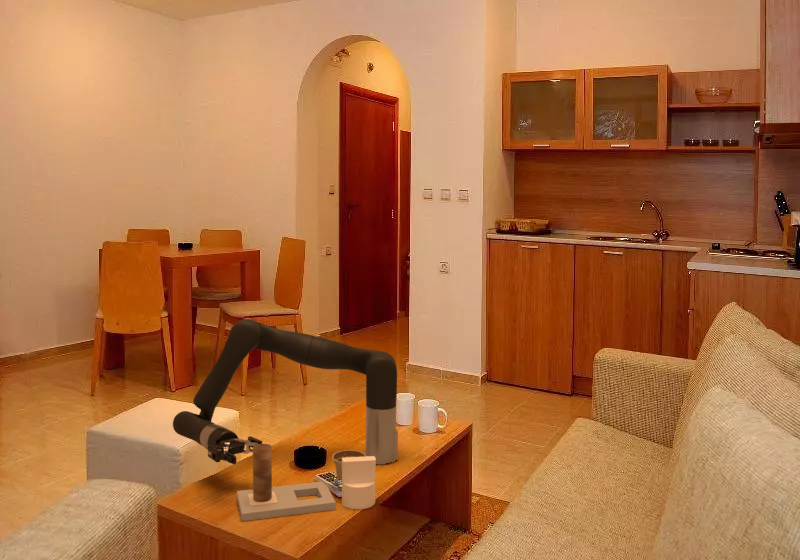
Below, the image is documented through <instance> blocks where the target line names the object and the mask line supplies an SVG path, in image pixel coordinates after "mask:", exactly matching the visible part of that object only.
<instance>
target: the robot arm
mask: <svg viewBox="0 0 800 560" xmlns="http://www.w3.org/2000/svg"><path fill="white" fill-rule="evenodd" d="M252 350H260V351H266V352H271V353H273V354H277V355H280V356H281V357H284V358H286V359H289V360H291V361H293V362H295V363H296V364H297V363H298V364H300V365H304V366H308V367H312V368H316V369H322V370H346V371H352V372H356V373H359V374H363V375H365V376H366V377H365V378H366V379H365V380H366V381H365V383H366V384H365V385H366V386H365V389H366V390H365V392H366V393H365V455H366V456H374V457H375V458H376V465H387V464H386V463H389V464H391V463H390V462H392V461H394V460H399V459H398V455H399V454H398V452H399V451H398V449H399V443H398V442H399V431H398V430H397V399H398V398H397V396H398V395H397V394H398V367H397V362H396V360H395V358H394V356H393V355H391V354H390V353H388V352H386V351H380V350H373V349H365V348H360V347H354V346H351V345H348V344H345V343H342V342H338V341H336V340H332V339H329V338H324V337H321V336H316V335H312V334H307V333H302V332H297V331H291V330H282V329H279V328H277V327H273V326H270V325H267V324H264V323H261V322H259V321H256V320H254V319H250V318H247V319H246V318H245V319H241V320H239V321H237V322H235V324H233V325H232V327H231V328H230V330H229V334H228V337H227V339H226V342H225V344H224V347H223V349H222V351H221V353H220V355H219V357H218V359H217V361H216V362H215V363H214V366H213V367H212V368H211V370H210V371H209V373H208V375H206V378H205V379H204V380H203V382H202V384H201V385H200V387H199V388H198V391H197V392H196V394H195V395H194V396H193V400H192V403H193V404H194V407H196V408H198V409H199V410H200V412H199V414H197V413H193V412H191V411H186V410H183V411H180V412H178V413H177V414H176V415H175V416H174V417H173V421H172V428H173V430H174V431H175V433H176V434H177V435H179V436H180V437H181V436H182V437H184V438H187V439H188V440H192V441H194V442H196V444H198V445H200V446H202V447H203V448H205V449H206V450H207V457H208V458H209V459H211V460H212V461H214V462H215V463H220V462H221V461H223V462H227V463H229V464H232V465H237V456H236V454H237V455H240V454H243V455H244V454H245V455H248V454H250V453H252V454H253V446H255V445H257V444H263V440H260V439H258V438H255V437H253V436H252V435H251V436H247V439H246V440H245V439H241V438H239V437H238V435H237V434H236V433H235V432H234V431H232V430H230V429H229V428H227V427H224V426H222V425H220V424H216V423H214V422H212V419H213V417H214V413H215V410H216V407H217V406H218V405H219V403H220V401H221V399H222V398H223V397H224V395H225V393H226V391H227V389H228V387H229V386H230V385H229V384H230V383H231V381H232V379H233V377H234V374H235V372H236V371H237V370H238V368H239V367H240V365H241V363H242V362H243V361H244V359H245V358H246V357H247V356H248V355H249V354H250V352H252ZM394 462H395V461H394ZM392 463H393V462H392Z"/></svg>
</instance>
